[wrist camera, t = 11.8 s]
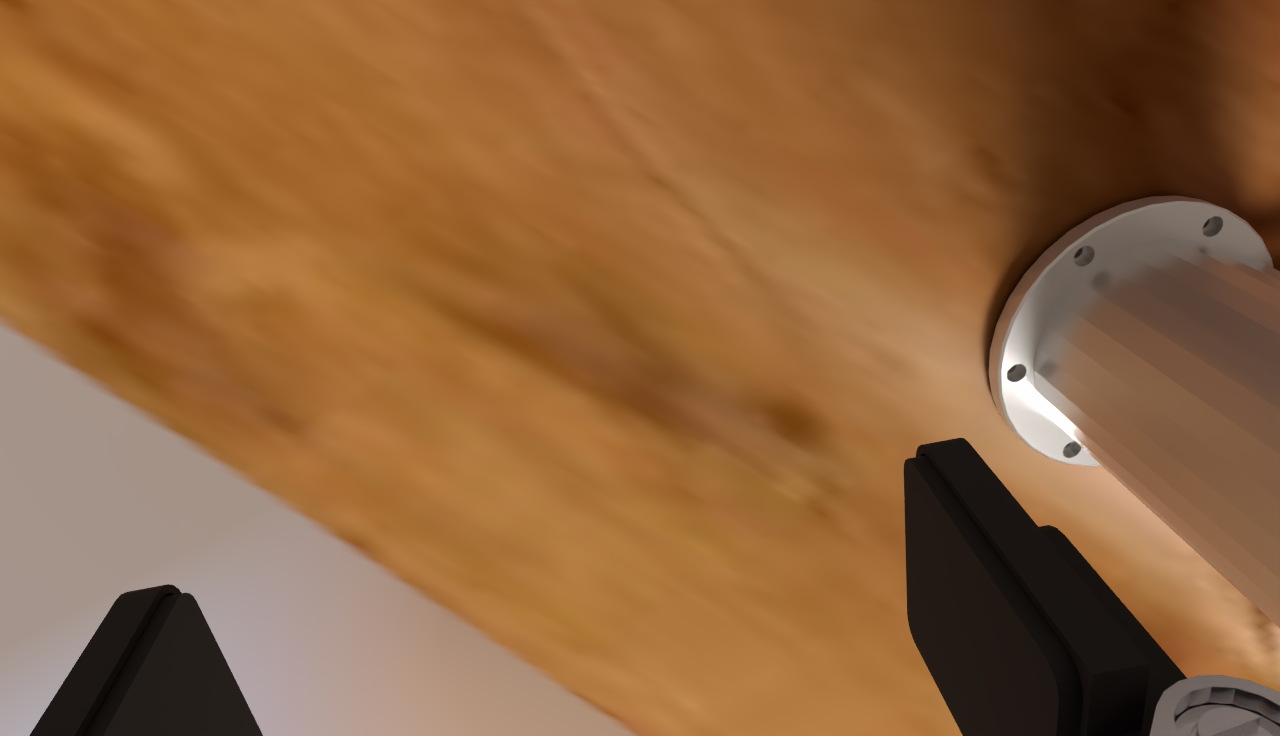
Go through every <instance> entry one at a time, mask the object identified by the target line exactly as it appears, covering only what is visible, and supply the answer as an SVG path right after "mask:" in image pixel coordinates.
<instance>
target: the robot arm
mask: <svg viewBox="0 0 1280 736" xmlns="http://www.w3.org/2000/svg"><path fill="white" fill-rule="evenodd" d="M989 380H990V386H991V392H992V397H993V399H994V402H995V404H996V406H997V409H998V411H999V414H1000V416H1001V417H1002V418H1003V420H1004V421H1005V422H1006V424H1007V425H1008V426H1009V427H1010V429H1011V430H1012V431H1013V432H1014V433H1015V434H1016V435H1017V436H1018V437H1019V438H1020V439H1021V440H1022V441H1023V442H1024V443H1025V444H1026V445H1027V446H1028V447H1030V448H1031V449H1033V450H1035V451H1036V452H1038V453H1040V454H1041V455H1043V456H1045V457H1046V458H1049V459H1052V460H1055V461H1058V462H1061V463H1064V464H1070V465H1080V466H1101V465H1102V466H1103V467H1104V468H1105V469H1106V470H1107V471H1108V472H1109V473H1111V474H1112V475H1113V476H1114V477H1115V478H1116V479H1117V480H1118V481H1119V482H1120V483H1122V484H1123V485H1124V486H1125V487H1126V488H1127V489H1128V490H1129V491H1130V492H1131V493H1132V494H1134V495H1135V496H1136V497H1137V498H1138V499H1139V500H1140V501H1141V502H1142V503H1143V504H1145V505H1146V506H1147V507H1148V508H1149V509H1150V510H1151V511H1152V512H1153V513H1154V514H1155V515H1157V516H1158V517H1159V518H1160V519H1161V520H1162V521H1163V522H1164V523H1165V524H1166V525H1168V526H1169V527H1170V528H1171V529H1172V530H1173V531H1174V532H1175V533H1176V534H1177V535H1178V536H1180V537H1181V538H1182V539H1183V540H1184V541H1185V542H1186V543H1187V544H1188V545H1189V546H1191V547H1192V548H1193V549H1194V550H1195V551H1196V552H1197V553H1198V554H1199V555H1200V556H1201V557H1203V558H1204V559H1205V560H1206V561H1207V562H1208V563H1209V564H1210V565H1211V566H1212V567H1214V568H1215V569H1216V570H1217V571H1218V572H1219V573H1220V574H1221V575H1222V576H1223V577H1224V578H1226V579H1227V580H1228V581H1229V582H1230V583H1231V584H1232V585H1233V586H1234V587H1235V588H1237V589H1238V590H1239V591H1240V592H1241V593H1242V594H1243V595H1244V596H1245V597H1246V598H1248V599H1249V600H1250V601H1251V602H1252V603H1253V604H1254V605H1255V606H1256V607H1257V608H1258V609H1260V610H1261V611H1262V612H1263V613H1264V614H1265V615H1266V616H1267V617H1268V618H1269V619H1271V620H1272V621H1273V622H1274V623H1275V624H1276V625H1277V626H1278V627H1279V628H1280V271H1278V270H1276V269H1274V267H1273V262H1272V258H1271V256H1270V254H1269V252H1268V250H1267V248H1266V245H1265V243H1264V241H1263V239H1262V238H1261V237H1260V236H1259V234H1258V233H1257V232H1256V231H1255V230H1254V229H1253V228H1252V227H1251V225H1250V224H1249V223H1248V222H1247V221H1245V220H1243V219H1242V218H1240V217H1239V216H1237V215H1235V214H1234V213H1232V212H1231V211H1229V210H1227V209H1225V208H1222V207H1220V206H1217V205H1215V204H1212V203H1209V202H1207V201H1204V200H1201V199H1195V198H1190V197H1184V196H1179V195H1178V196H1152V197H1147V198H1143V199H1138V200H1134V201H1130V202H1125V203H1122V204H1120V205H1117V206H1115V207H1113V208H1110V209H1108V210H1105V211H1103V212H1101V213H1098V214H1096V215H1094V216H1093V217H1091V218H1089V219H1088V220H1086V221H1084V222H1083V223H1081V224H1079V225H1078V226H1076V227H1075V228H1073V229H1071V230H1070V231H1068V232H1067V233H1066V234H1065V235H1064V236H1062V237H1061V238H1060V239H1059V240H1058V241H1056V242H1055V243H1054V244H1053V245H1052V246H1050V247H1049V248H1048V249H1047V250H1046V251H1045V252H1044V253H1043V254H1042V255H1041V256H1040V257H1039V258H1038V259H1037V261H1036V262H1035V263H1034V264H1033V265H1032V266H1031V267H1030V268H1029V269H1028V271H1027V272H1026V273H1025V274H1024V275H1023V277H1022V278H1021V280H1020V282H1019V283H1018V285H1017V286H1016V288H1015V289H1014V291H1013V292H1012V294H1011V295H1010V297H1009V298H1008V300H1007V302H1006V305H1005V307H1004V309H1003V311H1002V313H1001V316H1000V318H999V320H998V322H997V325H996V329H995V332H994V336H993V340H992V344H991V348H990V359H989ZM904 495H905V536H906V577H907V614H908V622H909V627H910V630H911V634H912V637H913V639H914V642H915V644H916V646H917V648H918V650H919V652H920V654H921V656H922V657H923V659H924V661H925V663H926V665H927V667H928V669H929V671H930V673H931V675H932V677H933V679H934V681H935V683H936V685H937V686H938V688H939V690H940V692H941V694H942V696H943V698H944V700H945V702H946V704H947V706H948V708H949V710H950V712H951V713H952V715H953V717H954V719H955V721H956V723H957V725H958V727H959V729H960V731H961V733H962V735H963V736H1280V693H1279V692H1277V691H1276V690H1273V689H1270V688H1268V687H1265V686H1263V685H1260V684H1257V683H1255V682H1252V681H1250V680H1245V679H1239V678H1234V677H1229V676H1224V675H1205V676H1195V677H1191V678H1188V679H1187V678H1186V676H1185V675H1184V674H1183V673H1182V672H1181V671H1180V669H1179V668H1178V667H1177V666H1176V665H1175V664H1174V662H1173V661H1172V660H1171V659H1170V658H1169V657H1168V655H1167V654H1166V653H1165V652H1164V651H1163V650H1162V648H1161V647H1160V646H1159V645H1158V644H1157V643H1156V641H1155V640H1154V639H1153V638H1152V637H1151V636H1150V634H1149V633H1148V632H1147V631H1146V630H1145V629H1144V627H1143V626H1142V625H1141V624H1140V623H1139V621H1138V620H1137V619H1136V618H1135V617H1134V616H1133V614H1132V613H1131V612H1130V611H1129V610H1128V609H1127V607H1126V606H1125V605H1124V604H1123V603H1122V602H1121V600H1120V599H1119V598H1118V597H1117V596H1116V595H1115V593H1114V592H1113V591H1112V590H1111V589H1110V588H1109V586H1108V585H1107V584H1106V583H1105V582H1104V581H1103V579H1102V578H1101V577H1100V576H1099V575H1098V574H1097V572H1096V571H1095V570H1094V569H1093V568H1092V567H1091V565H1090V564H1089V563H1088V562H1087V561H1086V560H1085V558H1084V557H1083V556H1082V555H1081V554H1080V553H1079V551H1078V550H1077V549H1076V548H1075V547H1074V546H1073V544H1072V543H1071V542H1070V541H1069V540H1068V539H1067V537H1066V536H1065V535H1064V534H1063V533H1062V532H1060V531H1059V530H1058V529H1057V528H1055V527H1053V526H1050V525H1047V526H1042V527H1038V526H1037V525H1036V524H1035V522H1034V521H1033V520H1032V519H1031V518H1030V516H1029V515H1028V514H1027V513H1026V512H1025V510H1024V509H1023V508H1022V507H1021V505H1020V504H1019V503H1018V502H1017V501H1016V499H1015V498H1014V497H1013V496H1012V495H1011V493H1010V492H1009V491H1008V490H1007V488H1006V487H1005V486H1004V485H1003V484H1002V482H1001V481H1000V480H999V479H998V478H997V476H996V475H995V474H994V473H993V471H992V470H991V469H990V468H989V467H988V465H987V464H986V463H985V462H984V461H983V459H982V458H981V457H980V456H979V454H978V453H977V452H976V451H975V450H974V448H973V447H972V446H971V445H970V444H969V442H968V441H966V440H965V439H964V438H957V439H951V440H946V441H941V442H935V443H930V444H924V445H920V446H919V447H918V449H917V452H916V457H915V458H910V459H907V460H905V463H904ZM30 736H263V735H262V733H261V731H260V729H259V727H258V725H257V723H256V721H255V719H254V717H253V715H252V713H251V711H250V709H249V707H248V704H247V702H246V701H245V698H244V696H243V694H242V692H241V691H240V688H239V686H238V684H237V682H236V680H235V679H234V676H233V674H232V672H231V670H230V668H229V666H228V664H227V662H226V660H225V658H224V656H223V654H222V652H221V650H220V648H219V646H218V644H217V642H216V640H215V638H214V636H213V634H212V632H211V630H210V628H209V626H208V624H207V622H206V620H205V618H204V616H203V614H202V612H201V610H200V608H199V606H198V604H197V601H196V600H195V598H194V597H193V596H192V595H191V594H189V593H181V592H180V590H179V589H178V588H176V587H175V586H174V585H163V586H157V587H152V588H147V589H141V590H136V591H131V592H126V593H124V594H121V595H120V596H119V598H118V599H117V600H116V601H115V603H114V604H113V606H112V607H111V609H110V611H109V612H108V614H107V615H106V617H105V618H104V620H103V621H102V623H101V624H100V626H99V628H98V629H97V631H96V632H95V634H94V636H93V637H92V639H91V640H90V642H89V643H88V645H87V647H86V648H85V650H84V651H83V653H82V654H81V656H80V657H79V659H78V661H77V662H76V664H75V665H74V667H73V668H72V670H71V671H70V673H69V675H68V676H67V678H66V679H65V681H64V682H63V684H62V686H61V687H60V689H59V690H58V692H57V694H56V695H55V697H54V698H53V700H52V701H51V703H50V705H49V706H48V708H47V709H46V711H45V712H44V714H43V715H42V717H41V718H40V720H39V722H38V723H37V725H36V726H35V728H34V729H33V731H32V733H31V734H30Z"/></svg>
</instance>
